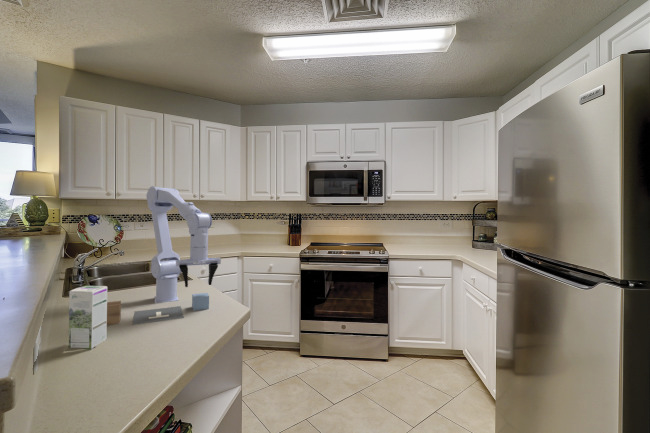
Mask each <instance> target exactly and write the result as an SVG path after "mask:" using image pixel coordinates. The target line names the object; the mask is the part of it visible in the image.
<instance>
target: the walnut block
mask: <svg viewBox="0 0 650 433" xmlns="http://www.w3.org/2000/svg"><path fill="white" fill-rule="evenodd" d="M121 312H122V301H121V300H115V301H107V326H109V325H111V326H112V325H118V324H120V322H121V318H122V313H121Z"/></svg>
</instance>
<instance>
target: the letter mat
mask: <svg viewBox="0 0 650 433" xmlns="http://www.w3.org/2000/svg"><path fill="white" fill-rule="evenodd" d="M184 318H185V315H184V313H183V310H182V307H181V306H179V305H178V306H171V307H170V306H169V307H163V308H154V309H153V308H152V309H145V310H137V311H134V313H133V320H132V325H133V326H135V325H141V324H142V325H143V324H150V323H151V324H152V323H157V322H164V321H172V320H179V319H184Z"/></svg>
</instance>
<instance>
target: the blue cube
mask: <svg viewBox="0 0 650 433" xmlns="http://www.w3.org/2000/svg"><path fill="white" fill-rule="evenodd" d="M191 296H192V297H191V298H192V299H191V308H192V311H194V312H195V311H202V310H204V311H205V310H209V309H210V294H208V292H202V293H201V292H200V293H193V294H191Z"/></svg>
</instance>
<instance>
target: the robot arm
mask: <svg viewBox="0 0 650 433" xmlns="http://www.w3.org/2000/svg"><path fill="white" fill-rule="evenodd" d="M145 195H146V202H147V207H148V210H150V212H151V213H150V214H151V219H152V225H153V231H154V238H155V244H156V250H157V254H155V255H154V256H153V257H152V258H151V261H150V262H151V266H150V272H151V275H152V277H154V279H156V280H155V285H156V286H155V287H156V288H155V296H154V303H155V304H159V303H161V304H162V303H169V302H178V301H179V297H178V277H180V274H182V276H183V280H184V287H185V288H188V287H189V281H188V280H189V278H188V275H189V268H188V266H200V265H201V266H203V265H205V266H206V265H208V278H207V279H208V280H207V281H208V282H207V283H208V285H209V286H211V285H212V282H213V278H214V275H215V274H216V271H217V270H218V267H219V265H221V262H222V258H220V257H213V258H212V257H210V258H209V257H208V254H209V253H208V252H209V248H208V246H209V229H210V228H211V227H212V225H213V218H212V216H211V214H210V213H209V212H202V211H201V209H200V208H197V207H196V206H195V205H194V204H195V203H194V202H192V201H190V202H189V201H187V202H186V201H185V200H184V199H183V198H182V196H180V191H179V190H177V189H176V188H173V187H171V188H169V187H160V186H159V187H158V186H153V185H152V186H150V187H149V188H148V190H147V192H146V194H145ZM174 207H175V208H177V210H178V214H179V215H180V216H181V217H182V218H183V219H184V220H185V221H186V224H187V227H188V232H189V234H190V240H189V241H190V242H189V243H190V245H189V246H190V248H189V251H190V252H189V253H190V255H189V258H187V259H185V258H184V259H181V258H180V254H178V253H177V252H175V251H174V250H173V244H172V238H171V234H170V228H169V221H168V216H167V213H168V212H169V211H171V210H172V209H173V208H174Z"/></svg>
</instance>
